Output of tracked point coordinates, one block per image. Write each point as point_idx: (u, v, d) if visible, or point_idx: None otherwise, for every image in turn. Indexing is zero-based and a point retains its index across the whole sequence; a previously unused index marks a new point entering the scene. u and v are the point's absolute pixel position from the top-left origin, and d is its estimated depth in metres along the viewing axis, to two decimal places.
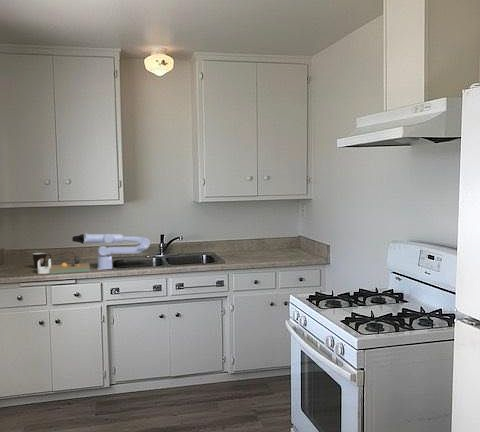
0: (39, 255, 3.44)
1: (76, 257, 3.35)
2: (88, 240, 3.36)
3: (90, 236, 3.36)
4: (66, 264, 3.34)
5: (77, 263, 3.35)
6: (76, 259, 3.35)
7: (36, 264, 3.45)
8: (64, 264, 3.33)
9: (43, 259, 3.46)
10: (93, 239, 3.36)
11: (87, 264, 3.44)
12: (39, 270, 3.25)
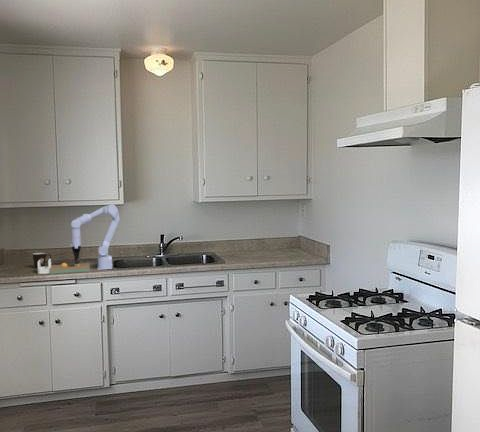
0: (39, 255, 3.44)
1: None
2: (77, 243, 3.34)
3: (73, 241, 3.33)
4: (66, 264, 3.34)
5: (77, 263, 3.35)
6: (76, 259, 3.35)
7: (36, 264, 3.45)
8: (64, 264, 3.33)
9: (43, 259, 3.46)
10: (76, 238, 3.33)
11: (87, 264, 3.44)
12: (39, 270, 3.25)
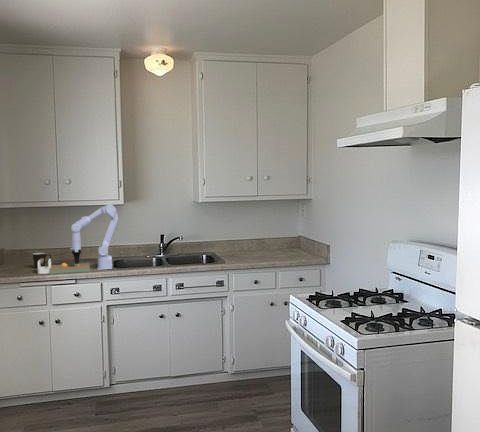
0: (39, 255, 3.44)
1: None
2: (77, 246, 3.34)
3: (73, 245, 3.33)
4: (66, 264, 3.34)
5: (77, 263, 3.35)
6: None
7: (36, 264, 3.45)
8: (64, 264, 3.33)
9: (43, 259, 3.46)
10: (76, 242, 3.33)
11: (87, 264, 3.44)
12: (39, 270, 3.25)
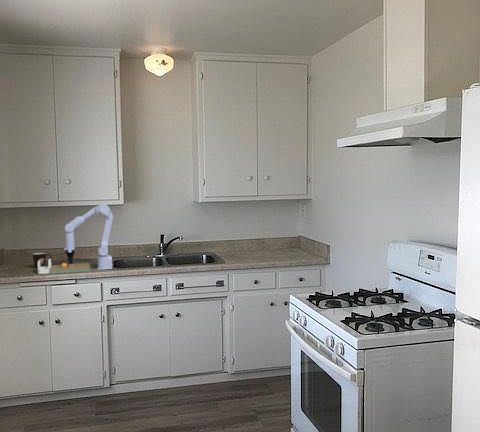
0: (39, 255, 3.44)
1: None
2: (71, 247, 3.33)
3: (67, 245, 3.32)
4: (66, 264, 3.34)
5: (71, 263, 3.34)
6: None
7: (36, 264, 3.45)
8: (64, 264, 3.33)
9: (43, 259, 3.46)
10: (70, 242, 3.32)
11: (87, 264, 3.44)
12: (39, 270, 3.25)
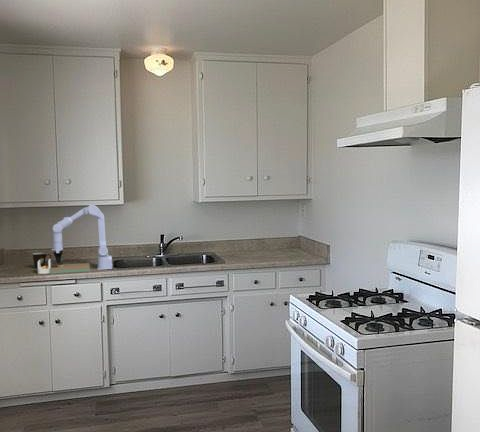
0: (39, 255, 3.44)
1: None
2: (59, 247, 3.30)
3: (55, 245, 3.30)
4: (47, 267, 3.30)
5: (60, 264, 3.32)
6: None
7: (36, 264, 3.45)
8: (45, 267, 3.29)
9: (43, 259, 3.46)
10: (58, 242, 3.30)
11: (87, 264, 3.44)
12: (39, 270, 3.25)
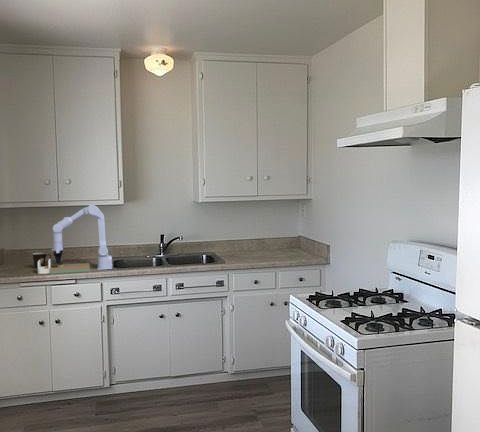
0: (39, 255, 3.44)
1: None
2: (59, 247, 3.30)
3: (55, 245, 3.30)
4: None
5: (60, 264, 3.32)
6: None
7: (36, 264, 3.45)
8: None
9: (43, 259, 3.46)
10: (58, 243, 3.30)
11: (87, 264, 3.44)
12: (39, 270, 3.25)
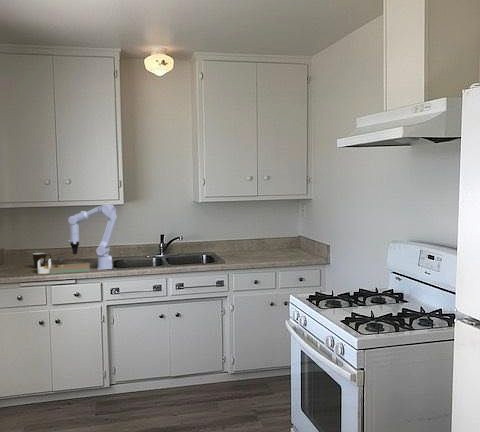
0: (39, 255, 3.44)
1: (59, 258, 3.32)
2: (76, 238, 3.41)
3: (71, 237, 3.40)
4: None
5: (60, 264, 3.32)
6: (59, 260, 3.32)
7: (36, 264, 3.45)
8: None
9: (43, 259, 3.46)
10: (74, 234, 3.40)
11: (87, 264, 3.44)
12: (39, 270, 3.25)
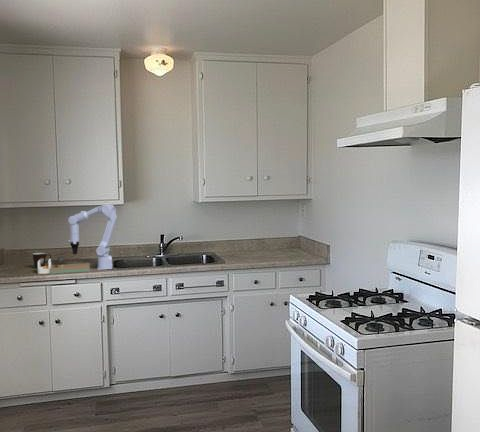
0: (39, 255, 3.44)
1: (59, 258, 3.32)
2: (76, 238, 3.41)
3: (71, 237, 3.40)
4: None
5: (60, 264, 3.32)
6: (59, 260, 3.32)
7: (36, 264, 3.45)
8: (47, 267, 3.30)
9: (43, 259, 3.46)
10: (74, 234, 3.40)
11: (87, 264, 3.44)
12: (39, 270, 3.25)
